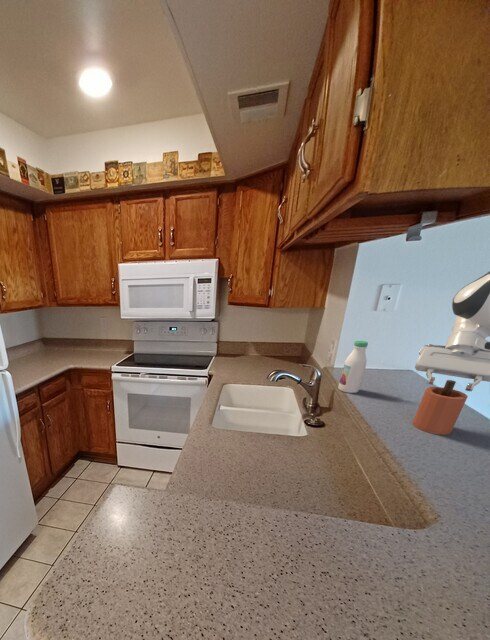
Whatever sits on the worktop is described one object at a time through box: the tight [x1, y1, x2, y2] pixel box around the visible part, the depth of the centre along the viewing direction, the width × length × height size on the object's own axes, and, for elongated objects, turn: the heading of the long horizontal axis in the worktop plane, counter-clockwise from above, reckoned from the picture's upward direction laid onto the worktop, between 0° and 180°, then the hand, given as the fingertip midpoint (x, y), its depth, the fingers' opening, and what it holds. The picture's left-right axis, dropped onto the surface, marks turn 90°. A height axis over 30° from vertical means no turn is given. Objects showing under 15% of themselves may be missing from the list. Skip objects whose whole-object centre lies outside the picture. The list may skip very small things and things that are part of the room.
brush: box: [441, 379, 457, 397], centre depth 103 cm, size 4×4×15 cm
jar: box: [412, 386, 468, 436], centre depth 104 cm, size 10×10×12 cm
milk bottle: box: [337, 340, 369, 394], centre depth 132 cm, size 8×8×20 cm
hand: (449, 386), depth 100 cm, fingers open, 8 cm apart
